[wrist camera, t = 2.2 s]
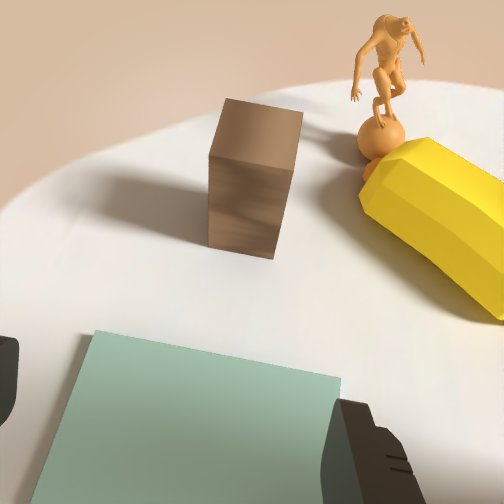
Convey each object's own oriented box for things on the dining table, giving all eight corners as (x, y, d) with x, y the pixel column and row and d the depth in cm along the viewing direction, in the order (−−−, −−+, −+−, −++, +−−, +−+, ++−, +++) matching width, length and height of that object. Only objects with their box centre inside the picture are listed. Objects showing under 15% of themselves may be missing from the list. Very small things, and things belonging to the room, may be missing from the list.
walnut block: (282, 208, 38) (303, 112, 30) (273, 259, 36) (293, 170, 27) (221, 196, 39) (225, 98, 30) (208, 247, 36) (208, 154, 27)
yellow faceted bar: (521, 356, 33) (569, 292, 37) (586, 318, 28) (636, 246, 31) (331, 201, 39) (387, 157, 43) (353, 144, 34) (415, 98, 37)
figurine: (357, 189, 40) (408, 68, 30) (309, 146, 42) (342, 20, 32) (420, 148, 43) (486, 27, 33) (372, 110, 45) (420, -15, 35)
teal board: (336, 383, 31) (340, 378, 30) (311, 711, 23) (316, 719, 22) (99, 336, 31) (95, 329, 30) (-15, 642, 23) (-25, 647, 22)
